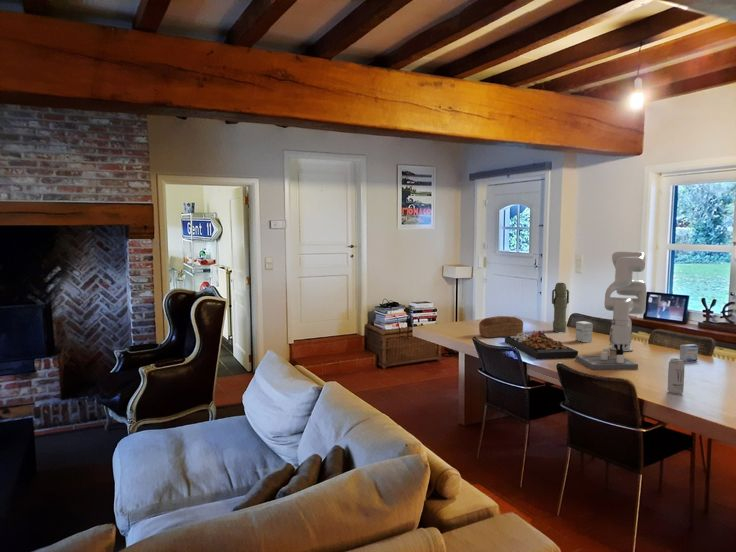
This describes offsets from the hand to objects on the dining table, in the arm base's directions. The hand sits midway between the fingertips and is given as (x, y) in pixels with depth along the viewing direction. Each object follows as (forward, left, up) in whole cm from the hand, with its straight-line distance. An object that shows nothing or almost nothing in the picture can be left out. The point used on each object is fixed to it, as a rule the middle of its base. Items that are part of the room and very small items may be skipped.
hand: (619, 356), depth 272 cm
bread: (-78, -40, -5) cm, 88 cm away
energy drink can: (+49, -1, -4) cm, 49 cm away
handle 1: (-7, -3, -2) cm, 8 cm away
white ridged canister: (-57, +8, -5) cm, 58 cm away
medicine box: (-6, +43, -5) cm, 43 cm away
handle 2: (+7, -3, -2) cm, 8 cm away
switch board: (0, -7, -4) cm, 9 cm away
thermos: (-90, +6, -4) cm, 90 cm away
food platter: (-36, -30, -5) cm, 47 cm away
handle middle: (0, -8, -2) cm, 9 cm away
